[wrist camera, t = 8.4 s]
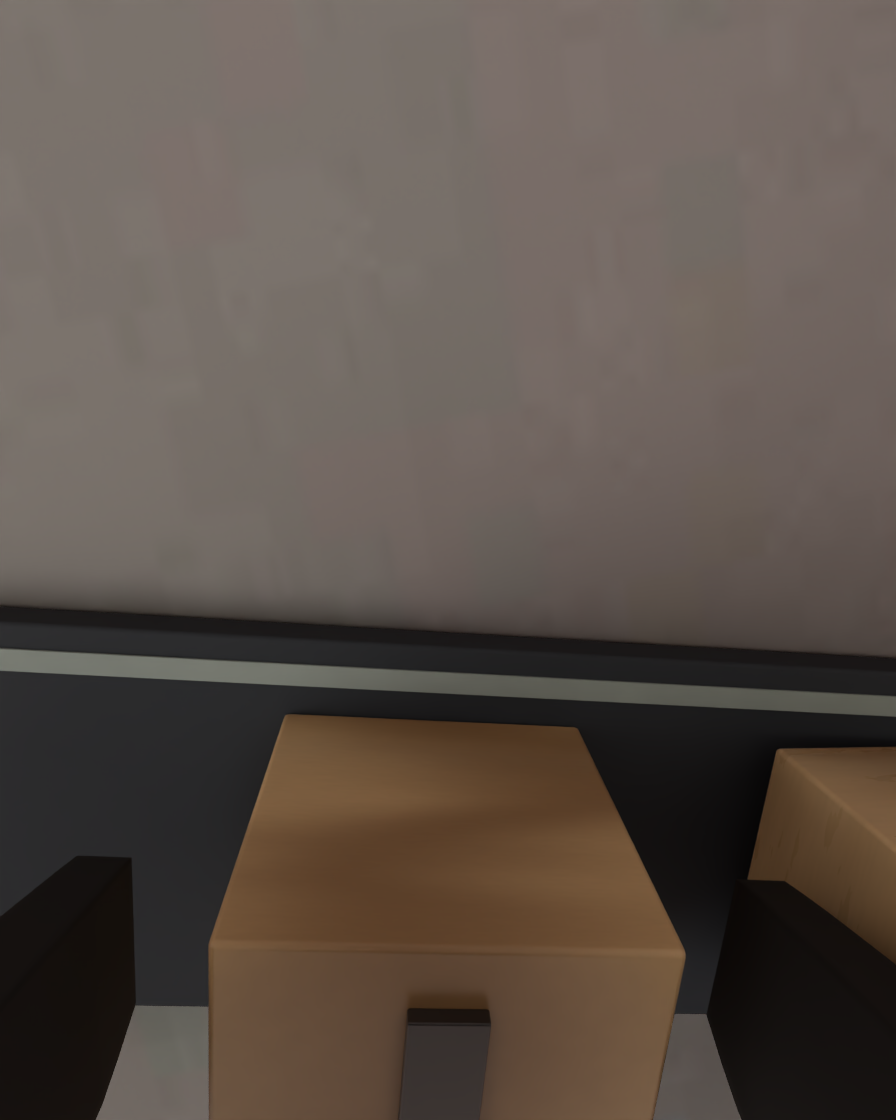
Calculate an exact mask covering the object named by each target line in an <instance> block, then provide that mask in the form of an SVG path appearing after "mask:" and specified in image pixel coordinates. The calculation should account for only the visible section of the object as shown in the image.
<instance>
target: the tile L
mask: <svg viewBox="0 0 896 1120" xmlns="http://www.w3.org/2000/svg"><path fill="white" fill-rule="evenodd" d="M747 880H773V881H785V882H787V883H788V884H790V885H791V886H793V887H794V888H795V889H797V890H798V891H800V892H801V893H803V894H804V895H805V896H807V897H808V898H810V899H811V900H812V901H814V902H815V903H816V904H818V905H819V906H820V907H822V908H823V909H825V910H826V911H827V912H829V913H830V914H831V915H832V916H834V917H835V918H836V919H838V920H839V921H840V922H842V923H843V924H844V925H846V926H847V927H848V928H850V929H851V930H852V931H853V932H855V933H856V934H857V935H859V936H860V937H861V938H862V939H864V940H865V941H866V942H868V943H869V944H870V945H872V946H873V947H874V948H875V949H877V950H878V951H879V952H881V953H882V954H883V955H884V956H886V957H887V958H888V959H890V960H891V961H892V962H893V963H895V964H896V747H842V748H785V749H778V750H777V751H776V754H775V758H774V763H773V767H772V772H771V776H770V781H769V785H768V789H767V794H766V798H765V803H764V807H763V812H762V816H761V820H760V825H759V829H758V834H757V838H756V843H755V847H754V852H753V856H752V860H751V865H750V869H749V874H748V878H747Z"/></svg>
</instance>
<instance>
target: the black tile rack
mask: <svg viewBox="0 0 896 1120" xmlns="http://www.w3.org/2000/svg"><path fill="white" fill-rule="evenodd" d="M288 714H299V715H321V716H342V717H364V718H386V719H407V720H429V721H451V722H472V723H494V724H516V725H537V726H559V727H575V728H577V729H578V730H579V732H580V734H581V737H582V739H583V741H584V743H585V745H586V747H587V749H588V751H589V753H590V755H591V757H592V759H593V761H594V763H595V766H596V768H597V770H598V772H599V774H600V776H601V778H602V780H603V782H604V784H605V786H606V788H607V790H608V792H609V794H610V797H611V799H612V801H613V803H614V805H615V807H616V809H617V811H618V813H619V815H620V817H621V819H622V821H623V823H624V826H625V828H626V830H627V832H628V834H629V836H630V838H631V840H632V842H633V844H634V846H635V848H636V850H637V852H638V854H639V857H640V859H641V861H642V863H643V865H644V867H645V869H646V871H647V873H648V875H649V877H650V879H651V881H652V883H653V885H654V888H655V890H656V892H657V894H658V896H659V898H660V900H661V902H662V904H663V906H664V908H665V910H666V912H667V914H668V917H669V919H670V921H671V923H672V925H673V927H674V929H675V931H676V933H677V935H678V937H679V939H680V941H681V943H682V945H683V948H684V950H685V953H686V959H685V964H684V969H683V974H682V979H681V983H680V988H679V993H678V998H677V1003H676V1008H675V1013H674V1014H707V1010H708V1005H709V1001H710V996H711V992H712V987H713V983H714V978H715V974H716V969H717V965H718V960H719V955H720V951H721V946H722V942H723V937H724V933H725V928H726V924H727V919H728V915H729V910H730V906H731V901H732V897H733V892H734V887H735V883H736V879H745V880H747V878H748V874H749V869H750V865H751V860H752V856H753V852H754V847H755V843H756V838H757V834H758V829H759V825H760V820H761V816H762V812H763V807H764V803H765V798H766V794H767V789H768V785H769V781H770V776H771V772H772V767H773V763H774V758H775V754H776V751H777V750H778V749H785V748H842V747H896V659H888V658H870V657H853V656H836V655H819V654H802V653H785V652H767V651H750V650H733V649H716V648H699V647H682V646H665V645H647V644H630V643H613V642H596V641H579V640H562V639H544V638H527V637H510V636H493V635H476V634H459V633H441V632H424V631H407V630H390V629H373V628H356V627H339V626H321V625H304V624H287V623H270V622H253V621H236V620H218V619H201V618H184V617H167V616H150V615H133V614H115V613H98V612H81V611H64V610H47V609H30V608H12V607H0V916H1V915H3V914H4V913H5V912H6V911H8V910H9V909H10V908H11V907H13V906H14V905H15V904H16V903H18V902H19V901H20V900H21V899H23V898H24V897H25V896H26V895H28V894H29V893H30V892H31V891H33V890H34V889H35V888H36V887H38V886H39V885H40V884H41V883H43V882H44V881H45V880H46V879H47V878H49V877H50V876H51V875H53V874H54V873H55V872H56V871H58V870H59V869H60V868H61V867H63V866H64V865H65V864H67V863H68V862H69V861H71V860H72V859H73V858H74V857H76V856H104V857H132V885H133V918H134V952H135V986H136V1004H135V1005H143V1006H208V1007H209V986H208V944H209V941H210V938H211V935H212V932H213V929H214V926H215V923H216V920H217V917H218V914H219V911H220V908H221V905H222V902H223V899H224V896H225V893H226V890H227V887H228V884H229V881H230V878H231V875H232V872H233V869H234V866H235V863H236V860H237V857H238V854H239V851H240V848H241V845H242V842H243V839H244V836H245V833H246V830H247V827H248V824H249V821H250V818H251V815H252V812H253V809H254V806H255V803H256V800H257V797H258V794H259V791H260V788H261V785H262V782H263V779H264V776H265V773H266V770H267V767H268V764H269V761H270V758H271V755H272V752H273V749H274V746H275V743H276V740H277V737H278V734H279V731H280V728H281V725H282V722H283V719H284V717H285V715H288Z"/></svg>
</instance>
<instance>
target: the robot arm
mask: <svg viewBox="0 0 896 1120" xmlns="http://www.w3.org/2000/svg"><path fill="white" fill-rule="evenodd" d="M135 1004H136V986H135V952H134V918H133V885H132V857H104V856H76V857H74V858H73V859H72V860H71V861H69V862H68V863H67V864H65V865H64V866H63V867H61V868H60V869H59V870H58V871H56V872H55V873H54V874H53V875H51V876H50V877H49V878H47V879H46V880H45V881H44V882H43V883H41V884H40V885H39V886H38V887H36V888H35V889H34V890H33V891H31V892H30V893H29V894H28V895H26V896H25V897H24V898H23V899H21V900H20V901H19V902H18V903H16V904H15V905H14V906H13V907H11V908H10V909H9V910H8V911H6V912H5V913H4V914H3V915H1V916H0V1120H96V1117H97V1115H98V1113H99V1111H100V1108H101V1106H102V1104H103V1101H104V1098H105V1095H106V1092H107V1089H108V1086H109V1083H110V1080H111V1077H112V1074H113V1071H114V1069H115V1066H116V1063H117V1060H118V1057H119V1054H120V1051H121V1048H122V1044H123V1041H124V1038H125V1035H126V1032H127V1029H128V1026H129V1023H130V1020H131V1016H132V1013H133V1010H134V1007H135ZM707 1018H708V1021H709V1024H710V1027H711V1030H712V1034H713V1037H714V1040H715V1043H716V1046H717V1050H718V1053H719V1056H720V1059H721V1062H722V1066H723V1069H724V1071H725V1074H726V1077H727V1080H728V1083H729V1086H730V1089H731V1092H732V1095H733V1098H734V1101H735V1104H736V1106H737V1109H738V1112H739V1114H740V1116H741V1119H742V1120H896V964H895V963H893V962H892V961H891V960H890V959H888V958H887V957H886V956H884V955H883V954H882V953H881V952H879V951H878V950H877V949H875V948H874V947H873V946H872V945H870V944H869V943H868V942H866V941H865V940H864V939H862V938H861V937H860V936H859V935H857V934H856V933H855V932H853V931H852V930H851V929H850V928H848V927H847V926H846V925H844V924H843V923H842V922H840V921H839V920H838V919H836V918H835V917H834V916H832V915H831V914H830V913H829V912H827V911H826V910H825V909H823V908H822V907H820V906H819V905H818V904H816V903H815V902H814V901H812V900H811V899H810V898H808V897H807V896H805V895H804V894H803V893H801V892H800V891H798V890H797V889H795V888H794V887H793V886H791V885H790V884H788V883H787V882H785V881H773V880H745V879H736V883H735V887H734V892H733V897H732V901H731V906H730V910H729V915H728V919H727V924H726V928H725V933H724V937H723V942H722V946H721V951H720V955H719V960H718V965H717V969H716V974H715V978H714V983H713V987H712V992H711V996H710V1001H709V1005H708V1010H707Z"/></svg>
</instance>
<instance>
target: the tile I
mask: <svg viewBox="0 0 896 1120" xmlns="http://www.w3.org/2000/svg"><path fill="white" fill-rule="evenodd" d="M685 959H686V953H685V950H684V948H683V945H682V943H681V941H680V939H679V937H678V935H677V933H676V931H675V929H674V927H673V925H672V923H671V921H670V919H669V917H668V914H667V912H666V910H665V908H664V906H663V904H662V902H661V900H660V898H659V896H658V894H657V892H656V890H655V888H654V885H653V883H652V881H651V879H650V877H649V875H648V873H647V871H646V869H645V867H644V865H643V863H642V861H641V859H640V857H639V854H638V852H637V850H636V848H635V846H634V844H633V842H632V840H631V838H630V836H629V834H628V832H627V830H626V828H625V826H624V823H623V821H622V819H621V817H620V815H619V813H618V811H617V809H616V807H615V805H614V803H613V801H612V799H611V797H610V794H609V792H608V790H607V788H606V786H605V784H604V782H603V780H602V778H601V776H600V774H599V772H598V770H597V768H596V766H595V763H594V761H593V759H592V757H591V755H590V753H589V751H588V749H587V747H586V745H585V743H584V741H583V739H582V737H581V734H580V732H579V730H578V729H577V728H575V727H559V726H537V725H516V724H494V723H472V722H451V721H429V720H407V719H386V718H364V717H342V716H321V715H299V714H288V715H285V717H284V719H283V722H282V725H281V728H280V731H279V734H278V737H277V740H276V743H275V746H274V749H273V752H272V755H271V758H270V761H269V764H268V767H267V770H266V773H265V776H264V779H263V782H262V785H261V788H260V791H259V794H258V797H257V800H256V803H255V806H254V809H253V812H252V815H251V818H250V821H249V824H248V827H247V830H246V833H245V836H244V839H243V842H242V845H241V848H240V851H239V854H238V857H237V860H236V863H235V866H234V869H233V872H232V875H231V878H230V881H229V884H228V887H227V890H226V893H225V896H224V899H223V902H222V905H221V908H220V911H219V914H218V917H217V920H216V923H215V926H214V929H213V932H212V935H211V938H210V941H209V944H208V986H209V1120H653V1116H654V1111H655V1106H656V1101H657V1096H658V1092H659V1087H660V1082H661V1077H662V1072H663V1067H664V1062H665V1057H666V1052H667V1047H668V1042H669V1037H670V1033H671V1028H672V1023H673V1018H674V1013H675V1008H676V1003H677V998H678V993H679V988H680V983H681V979H682V974H683V969H684V964H685Z"/></svg>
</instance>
